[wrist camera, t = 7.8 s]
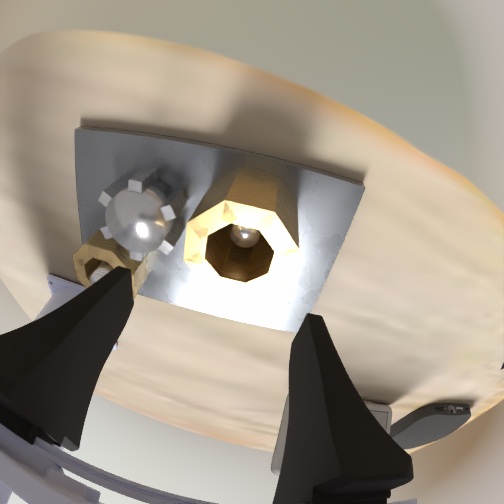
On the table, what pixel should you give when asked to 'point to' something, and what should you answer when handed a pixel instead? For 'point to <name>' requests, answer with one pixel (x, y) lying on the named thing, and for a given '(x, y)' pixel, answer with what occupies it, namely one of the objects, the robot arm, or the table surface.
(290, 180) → the plate
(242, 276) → the brass octagonal sleeve
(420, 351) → the table surface
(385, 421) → the digital clock
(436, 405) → the media streaming box
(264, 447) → the table surface
